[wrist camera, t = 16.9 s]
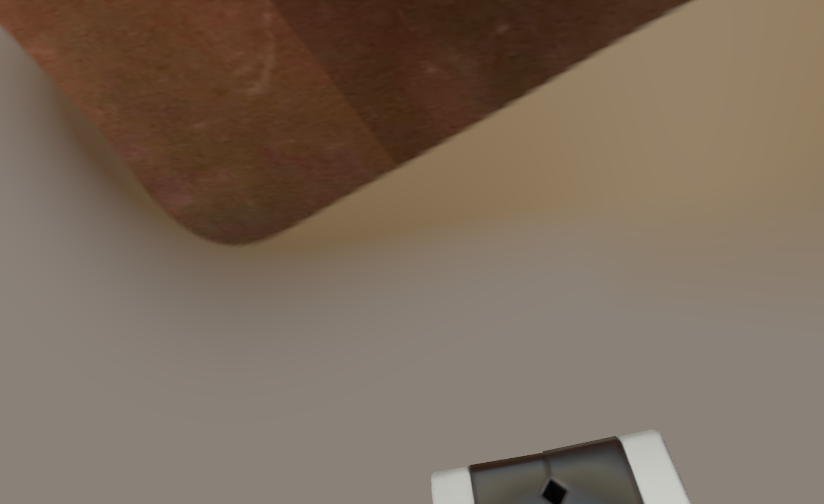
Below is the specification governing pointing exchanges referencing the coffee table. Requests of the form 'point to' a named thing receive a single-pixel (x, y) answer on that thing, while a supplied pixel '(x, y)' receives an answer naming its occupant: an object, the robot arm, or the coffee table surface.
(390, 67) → the coffee table surface
